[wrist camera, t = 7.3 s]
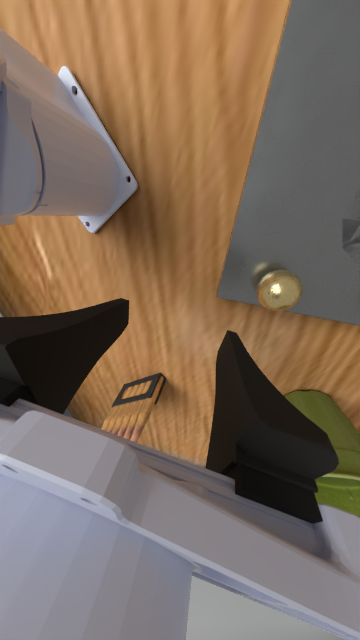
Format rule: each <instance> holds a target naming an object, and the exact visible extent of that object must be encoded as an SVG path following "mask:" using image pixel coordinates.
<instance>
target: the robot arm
mask: <svg viewBox="0 0 360 640" xmlns="http://www.w3.org/2000/svg"><path fill="white" fill-rule="evenodd" d="M76 89H77V95H76V94H75V90H76ZM129 176H130V178H131V181H130V182H128V177H129ZM137 188H138V184H137V181H136V180H135V178H134V176H133V174H132V173H131V171H130V169H129V168H128V166H127V164H126V163H125V161H124V159H123V158H122V156H121V154H120V153H119V151H118V149H117V147H116V146H115V144H114V142H113V141H112V139H111V137H110V136H109V134H108V132H107V131H106V129H105V127H104V126H103V124H102V122H101V120H100V119H99V117H98V115H97V114H96V112H95V110H94V109H93V107H92V105H91V104H90V102H89V100H88V99H87V97H86V95H85V94H84V92H83V90H82V88H81V87H80V85H79V83H78V82H77V80H76V78H75V77H74V75H73V73H72V72H71V70H70V69H69V68H68V67H66V66H62V68H61V69H60V72H59V74H58V76H57V75H56V74H55V73H54V72H52V71H51V70H50V69H49V68H48V67H46V66H45V65H44V64H43V63H42V62H40V61H39V60H38V59H37V58H36V57H34V56H33V55H32V54H31V53H30V52H28V51H27V50H26V49H25V48H24V47H23V46H21V45H20V44H19V43H18V42H17V41H15V40H14V39H13V38H12V37H11V36H9V35H8V34H7V33H6V32H5V31H3V30H2V29H1V28H0V225H10V224H14V221H15V219H16V217H18V216H20V215H44V216H78V218H79V219H80V220H81V222H82V223H83V224H84V226H85V227H86V228H87V230H88V231H89V232H90V233H95V232H96V231H97V230H98V229H99V228H100V227H101V226H102V225H103V224H104V223H105V222H106V221H107V220H108V219H109V218H110V217H111V216H112V215H113V214H114V213H115V212H116V211H117V210H118V209H119V208H120V207H121V206H122V205H123V203H124V202H125V201H126V200H127V199H128V198H129V197H130V196H131V195H132V194H133V193H134V192H135V191H136V190H137ZM88 222H89V224H90V226H89V225H88ZM128 320H129V300H126V299H122V298H120V299H116V300H112V301H109V302H105V303H102V304H98V305H95V306H91V307H87V308H83V309H79V310H75V311H70V312H64V313H58V314H50V315H41V316H29V317H0V640H186V630H187V620H188V609H189V599H190V588H191V578H192V576H195V577H197V578H199V579H202V580H204V581H207V582H209V583H212V584H214V585H216V586H219V587H221V588H224V589H226V590H229V591H231V592H233V593H236V594H238V595H241V596H243V597H246V598H248V599H250V600H253V601H255V602H258V603H260V604H263V605H265V606H267V607H270V608H272V609H275V610H277V611H279V612H282V613H284V614H287V615H289V616H291V617H294V618H296V619H298V620H301V621H303V622H306V623H308V624H310V625H313V626H315V627H317V628H320V629H322V630H325V631H327V632H329V633H331V634H334V635H336V636H338V637H341V638H343V639H345V640H360V518H359V517H358V516H357V515H355V514H352V513H349V512H347V511H344V510H341V509H339V508H336V507H333V506H331V505H327V504H321V503H317V500H316V497H315V494H314V493H317V492H318V487H317V484H316V481H315V479H317V478H319V477H321V476H324V475H326V474H328V473H330V472H332V471H334V470H335V469H336V468H337V466H338V464H339V458H338V456H337V454H336V452H335V450H334V448H333V445H332V443H331V441H330V439H329V437H328V435H327V433H326V432H325V431H323V430H322V429H321V428H320V427H319V426H317V425H316V424H315V423H314V422H312V421H311V420H310V419H309V418H307V417H306V416H305V415H304V414H303V413H301V412H300V411H299V410H298V409H297V408H296V407H295V406H294V405H293V404H291V403H290V402H289V401H288V400H287V399H286V398H285V397H284V396H283V395H282V394H281V393H280V392H279V391H278V390H277V389H276V388H275V387H274V386H273V384H272V383H271V382H270V381H269V380H268V379H267V378H266V376H265V375H264V374H263V373H262V372H261V370H260V369H259V368H258V366H257V365H256V364H255V362H254V361H253V359H252V358H251V356H250V355H249V353H248V352H247V350H246V348H245V347H244V345H243V343H242V342H241V340H240V338H239V336H238V335H237V333H235V332H232V331H229V330H227V333H226V335H225V337H224V339H223V341H222V344H221V346H220V348H219V350H218V354H217V360H216V395H215V406H214V415H213V422H212V430H211V436H210V443H209V450H208V456H207V462H206V468H203V467H200V466H198V465H195V464H192V463H190V462H187V461H184V460H182V459H179V458H176V457H174V456H171V455H168V454H166V453H163V452H160V451H158V450H155V449H153V448H150V447H147V446H145V445H142V444H139V443H137V442H134V441H131V440H129V439H126V438H123V437H121V436H118V435H115V434H113V433H110V432H107V431H105V430H102V429H100V428H97V427H94V426H92V425H89V424H86V423H84V422H81V421H78V420H76V419H73V418H70V417H68V416H65V415H63V413H64V411H65V410H66V408H67V406H68V405H69V403H70V401H71V400H72V398H73V397H74V395H75V393H76V392H77V390H78V389H79V387H80V386H81V384H82V383H83V381H84V380H85V378H86V377H87V375H88V374H89V372H90V371H91V370H92V368H93V367H94V365H95V364H96V363H97V361H98V360H99V359H100V358H101V356H102V355H103V354H104V353H105V352H106V351H107V350H108V349H109V347H110V346H111V345H112V344H113V343H114V342H115V341H116V340H117V339H118V337H119V336H120V335H121V334H122V333H123V331H124V330H125V328H126V327H127V325H128Z"/></svg>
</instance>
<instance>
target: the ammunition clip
mask: <svg viewBox="0 0 360 640" xmlns="http://www.w3.org/2000/svg"><path fill="white" fill-rule="evenodd" d="M165 381H166V378H165V377H164V376H163V375H162V374H161V373H158V374H155V375H152V376H149V377H146V378H143V379H140V380H137V381H134V382H131V383H127V384H124V386H123V388H122V389H121V391H120V393H119V394H118V396H117V398H116V400H115V401H114V403H113V405H112V409H111V411H110V413H109V415H108V416H107V418H106V420H105V422H104V424H103V426H102V428H101V429H102V430H105V431H107V432H110V433H113V434H115V435H118V436H121V437H123V438H126V439H129V440H130V439H131V441H134V442H137V441H138V439H139V437H140V435H141V433H142V430H143V428H144V426H145V424H146V422H147V420H148V419H149V416H150V414H151V411H152V409H153V406H154V404H157V401H158V399H159V396H160V394H161V391H162V389H163V386H164V384H165Z"/></svg>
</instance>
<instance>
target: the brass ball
mask: <svg viewBox="0 0 360 640" xmlns="http://www.w3.org/2000/svg"><path fill="white" fill-rule="evenodd" d="M302 294H303V283H302V281H301V279H300V278H299V276H298V275H296V274H295V273H293V272H291V271H288V270H275V271H272V272H270V273H268V274H266V275H265V276H264V277H263V278H262V279H261V280H260V281H259V283H258V285H257V288H256V296H257V299H258V301H259V303H260V304H261V305H262V306H263V307H265V308H267V309H269V310H272V311H283V310H287V309H289V308H291V307H293V306H294V305H295V304H297V302H298V301H299V300H300V298H301V297H302Z"/></svg>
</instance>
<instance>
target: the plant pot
mask: <svg viewBox="0 0 360 640" xmlns="http://www.w3.org/2000/svg"><path fill="white" fill-rule="evenodd" d="M284 397H285V398H286V399H287V400H288V401H289V402H290V403H291V404H293V405H294V406H295V407H296V408H297V409H298V410H299V411H300V412H301V413H303V414H304V415H305V416H306V417H307V418H309V419H310V420H311V421H312V422H314V423H315V424H316V425H317V426H319V427H320V428H321V429H322V430H323V431H325V432H326V433H327V435H328V437H329V439H330V441H331V443H332V445H333V448H334V450H335V452H336V454H337V456H338V458H339V464H338V466H337V468H336V469H335V470H334V471H332V472H330V473H328V474H326V475H324V476H321V477H319V478H317V479H315V481H316V484H317V487H318V492H317V493H314V494H315V497H316V500H317V503H321V504H327V505H331V506H333V507H336V508H339V509H341V510H344V511H347V512H349V513H352V514H355V515H357V516H358V517H359V518H360V433H359V432H358V431H357V430H356V428H355V427H354V426H353V425H352V423H351V422H350V421H349V420H348V418H347V417H346V416H345V414H344V413H343V412H342V411H341V409H340V408H339V407H338V406H337V404H336V403H335V402H334V401H333V400H332V399H331V398H330V397H329V396H328V395H326V394H324V393H322V392H318V391H313V390H311V391H294V392H291V393H289V394H287V395H285V396H284Z"/></svg>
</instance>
